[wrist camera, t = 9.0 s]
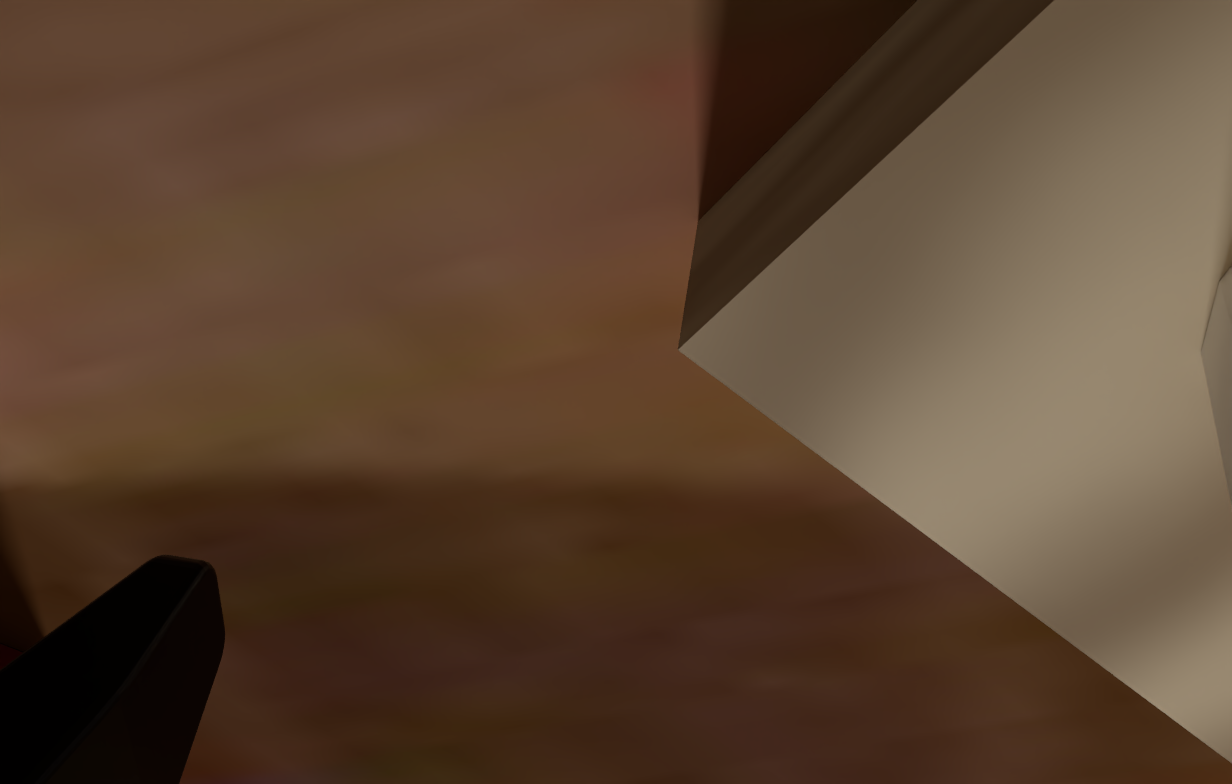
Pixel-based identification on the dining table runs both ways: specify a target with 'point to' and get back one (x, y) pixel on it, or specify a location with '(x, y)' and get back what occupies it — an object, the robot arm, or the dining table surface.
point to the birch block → (1011, 312)
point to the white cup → (1221, 370)
